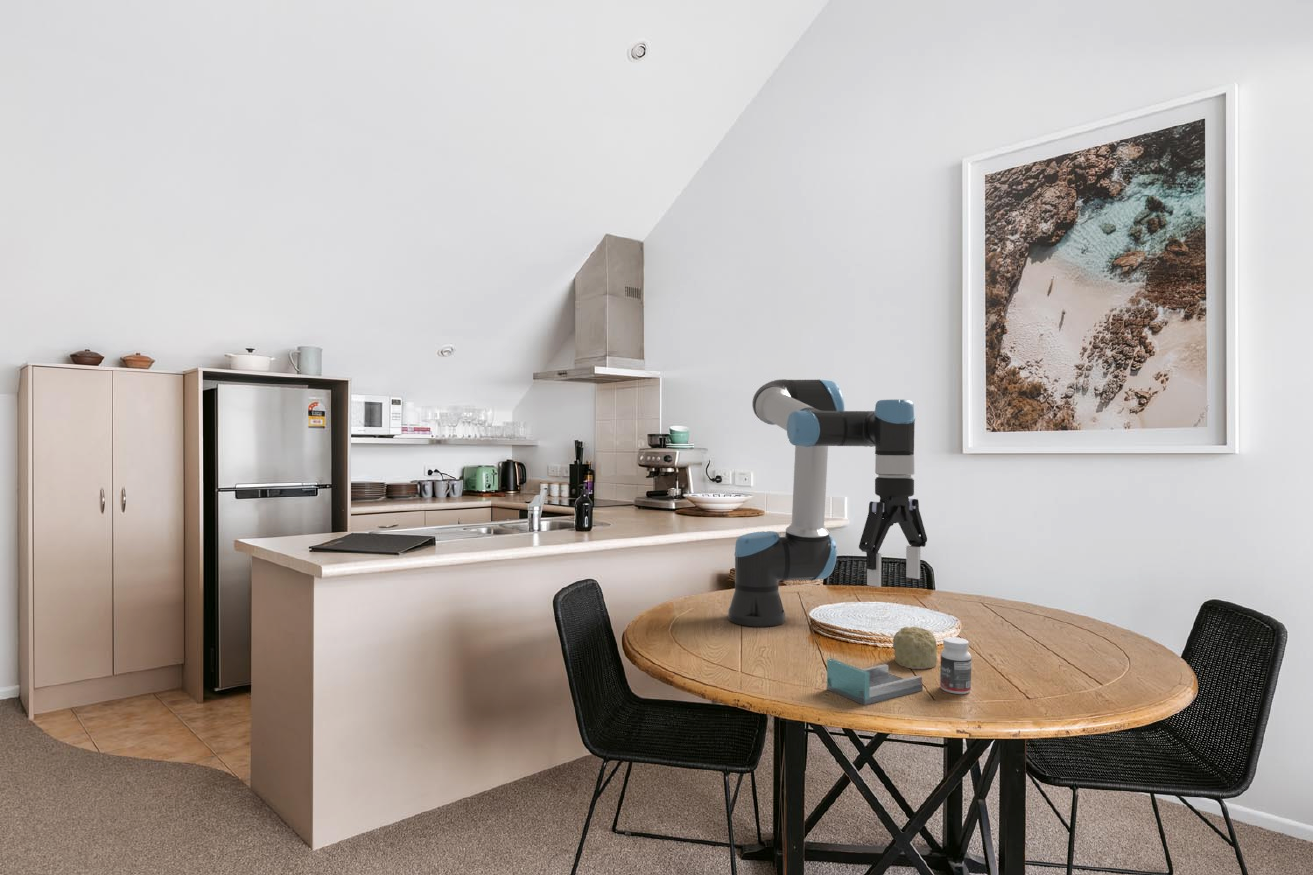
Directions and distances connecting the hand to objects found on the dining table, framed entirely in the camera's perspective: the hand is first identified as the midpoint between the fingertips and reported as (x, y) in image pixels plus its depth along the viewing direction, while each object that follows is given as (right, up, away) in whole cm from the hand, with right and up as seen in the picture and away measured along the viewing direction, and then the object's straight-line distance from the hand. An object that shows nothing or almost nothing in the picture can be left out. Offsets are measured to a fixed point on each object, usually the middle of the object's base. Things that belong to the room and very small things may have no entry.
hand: (894, 582), depth 154 cm
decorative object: (+9, -21, +15) cm, 28 cm away
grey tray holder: (-5, -21, -2) cm, 22 cm away
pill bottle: (+12, -21, -2) cm, 24 cm away
